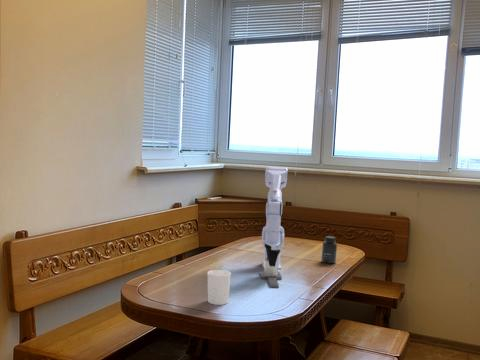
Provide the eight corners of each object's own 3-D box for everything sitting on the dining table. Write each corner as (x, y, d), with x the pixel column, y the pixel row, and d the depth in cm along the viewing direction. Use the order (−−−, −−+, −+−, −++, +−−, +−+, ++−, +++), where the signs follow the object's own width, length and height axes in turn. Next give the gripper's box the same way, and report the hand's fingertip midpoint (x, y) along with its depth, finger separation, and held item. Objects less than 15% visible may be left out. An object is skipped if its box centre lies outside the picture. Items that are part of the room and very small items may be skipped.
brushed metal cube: (263, 272, 203) (264, 257, 203) (276, 272, 203) (276, 258, 203) (264, 275, 198) (265, 260, 197) (277, 275, 198) (278, 261, 198)
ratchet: (260, 274, 204) (260, 264, 204) (279, 274, 205) (279, 264, 204) (263, 287, 185) (264, 276, 185) (284, 287, 186) (285, 276, 185)
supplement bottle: (325, 264, 226) (326, 238, 225) (318, 260, 233) (320, 235, 232) (338, 263, 228) (340, 238, 227) (332, 260, 235) (333, 235, 234)
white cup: (229, 298, 170) (230, 270, 169) (229, 306, 162) (231, 276, 161) (206, 297, 170) (207, 269, 169) (205, 305, 162) (207, 275, 161)
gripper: (261, 227, 206) (260, 259, 207) (264, 233, 192) (262, 268, 193) (278, 227, 206) (276, 259, 208) (282, 234, 192) (280, 268, 193)
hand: (271, 263), depth 200 cm, fingers open, 7 cm apart
